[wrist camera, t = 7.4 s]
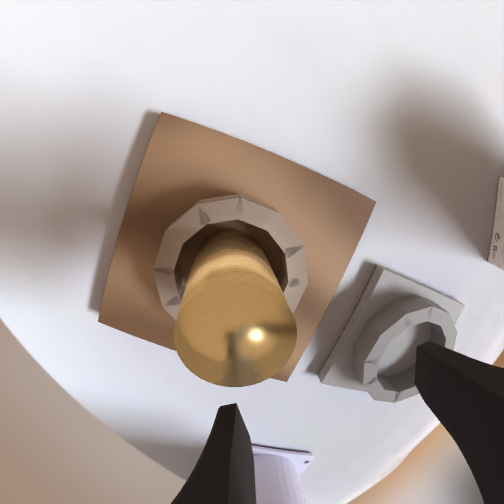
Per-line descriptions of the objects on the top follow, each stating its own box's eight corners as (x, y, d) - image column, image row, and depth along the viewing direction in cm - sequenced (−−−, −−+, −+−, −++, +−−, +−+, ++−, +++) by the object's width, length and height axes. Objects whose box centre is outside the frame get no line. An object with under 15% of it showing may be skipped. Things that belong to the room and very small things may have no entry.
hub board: (284, 373, 21) (292, 400, 18) (103, 314, 19) (87, 337, 16) (368, 199, 18) (392, 206, 15) (164, 114, 16) (153, 105, 13)
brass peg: (277, 279, 18) (313, 359, 10) (214, 308, 18) (210, 400, 11) (247, 216, 17) (267, 260, 9) (181, 248, 17) (150, 314, 9)
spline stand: (403, 391, 23) (418, 412, 20) (317, 375, 22) (329, 401, 19) (457, 300, 21) (480, 316, 18) (377, 264, 20) (399, 280, 17)
